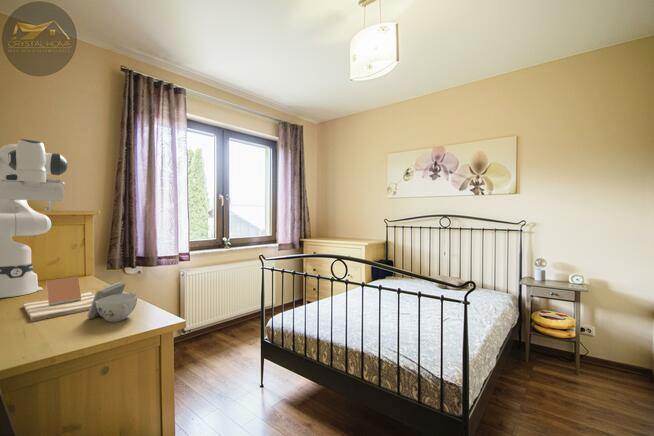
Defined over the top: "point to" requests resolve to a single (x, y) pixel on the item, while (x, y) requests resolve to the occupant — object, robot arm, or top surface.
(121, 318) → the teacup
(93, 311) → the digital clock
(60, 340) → the top surface
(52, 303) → the tile
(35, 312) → the board
